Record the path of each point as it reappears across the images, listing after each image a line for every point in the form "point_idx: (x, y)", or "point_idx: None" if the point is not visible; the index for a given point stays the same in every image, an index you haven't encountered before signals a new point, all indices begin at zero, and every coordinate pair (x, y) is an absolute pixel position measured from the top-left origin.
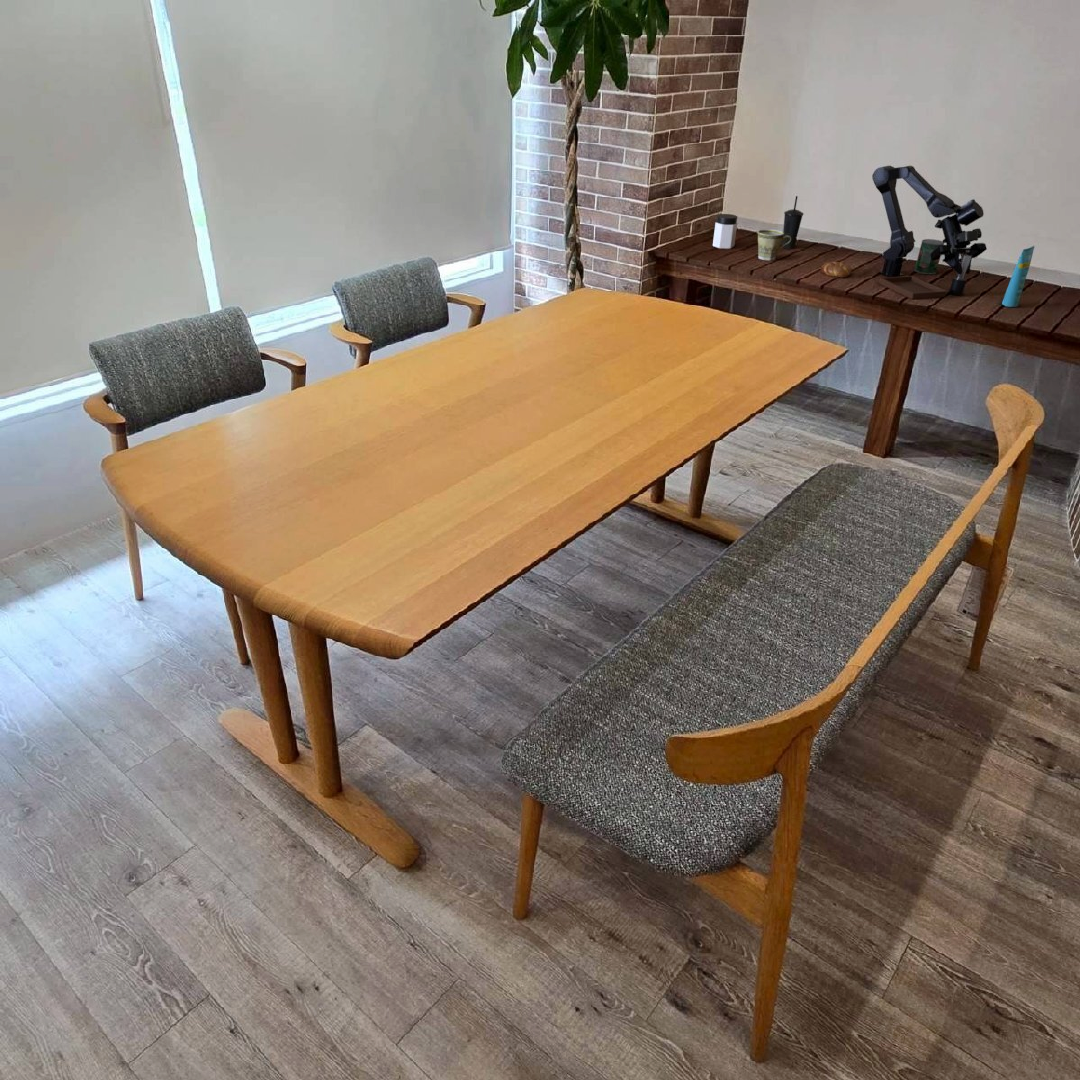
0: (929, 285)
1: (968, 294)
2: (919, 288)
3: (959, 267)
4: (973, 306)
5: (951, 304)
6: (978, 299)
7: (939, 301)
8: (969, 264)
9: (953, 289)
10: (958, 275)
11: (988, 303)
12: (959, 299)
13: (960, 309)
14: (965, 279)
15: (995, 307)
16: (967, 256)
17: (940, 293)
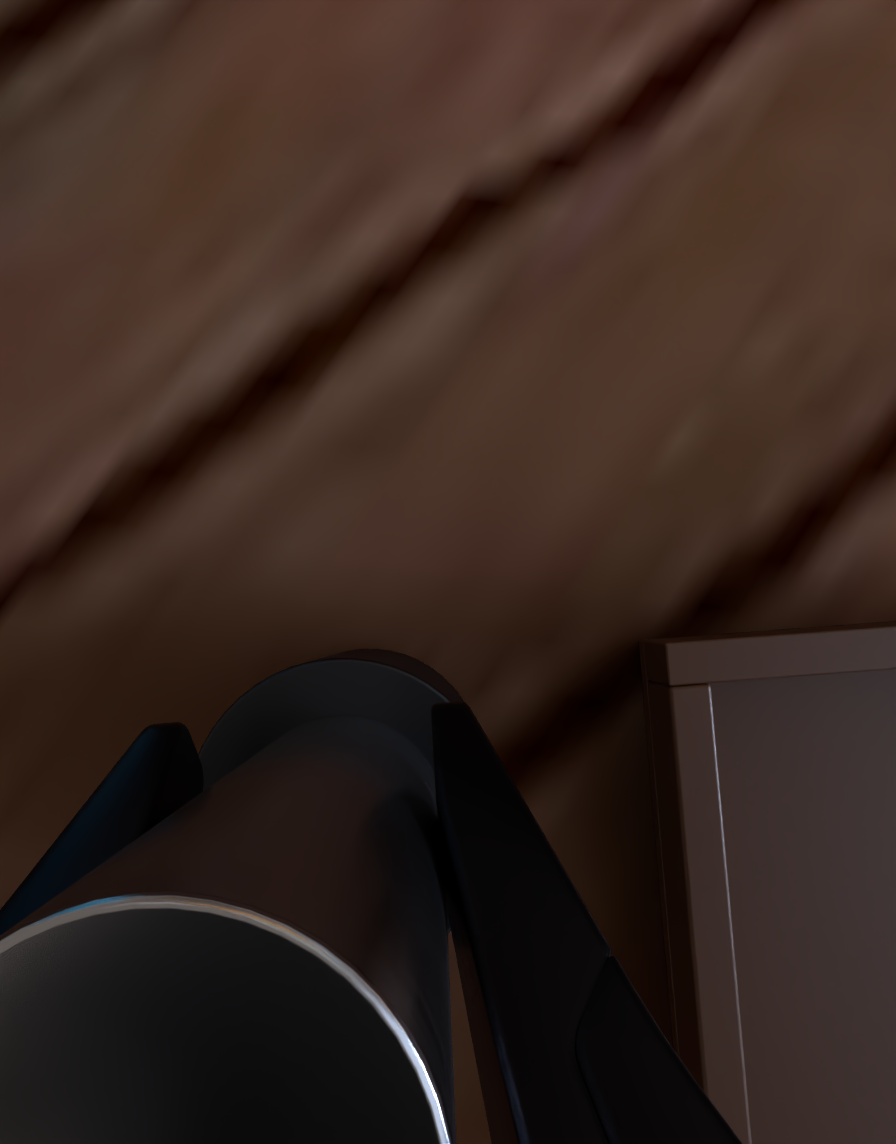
0: (741, 1100)
1: (149, 712)
2: (872, 1111)
3: (529, 826)
4: (480, 112)
5: (773, 256)
6: (159, 429)
7: (879, 427)
8: None
9: None
10: None
11: (133, 212)
12: (482, 476)
13: (777, 12)
14: (248, 733)
15: (158, 14)
16: (299, 924)
17: (781, 632)
